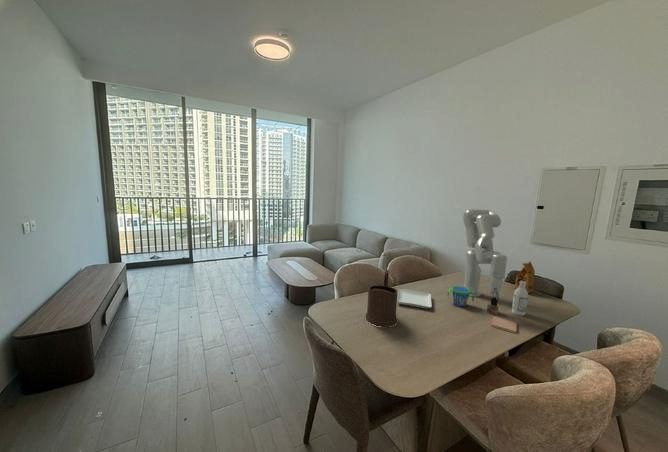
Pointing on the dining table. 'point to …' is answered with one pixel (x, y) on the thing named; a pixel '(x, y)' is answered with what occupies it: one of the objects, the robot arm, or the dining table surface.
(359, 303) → the dining table surface
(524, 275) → the orange cat figurine
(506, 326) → the terracotta tile
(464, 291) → the snack cup
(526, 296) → the bath foam
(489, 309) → the walnut cube
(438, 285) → the dining table surface
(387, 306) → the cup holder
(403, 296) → the salad plate
